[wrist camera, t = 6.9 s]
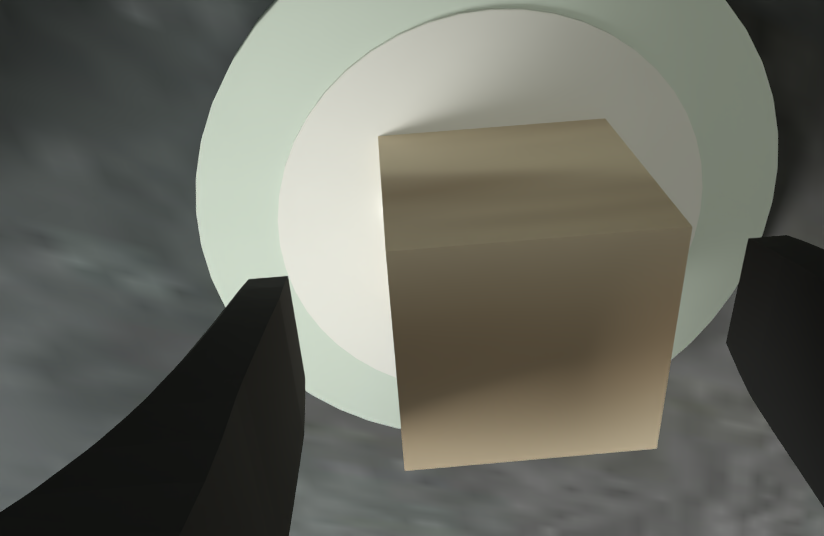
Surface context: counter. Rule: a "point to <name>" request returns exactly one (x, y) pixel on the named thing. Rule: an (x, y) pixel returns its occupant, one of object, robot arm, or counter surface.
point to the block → (528, 292)
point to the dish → (456, 110)
